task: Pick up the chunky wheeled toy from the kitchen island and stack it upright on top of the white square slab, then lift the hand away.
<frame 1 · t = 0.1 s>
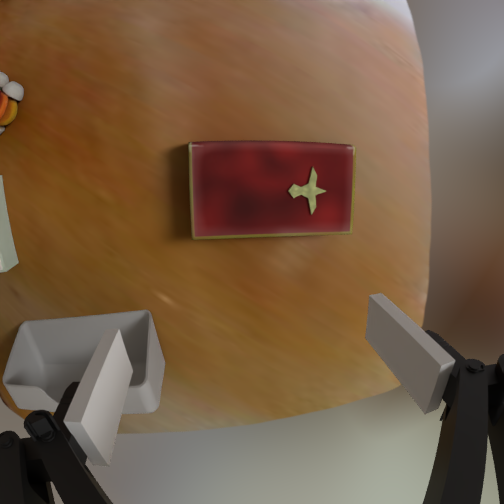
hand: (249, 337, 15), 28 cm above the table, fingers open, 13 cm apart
hardcover book: (270, 185, 42), on the table
chunky wheeled toy: (3, 104, 32), on the table
light grey storage bin: (95, 356, 46), on the table
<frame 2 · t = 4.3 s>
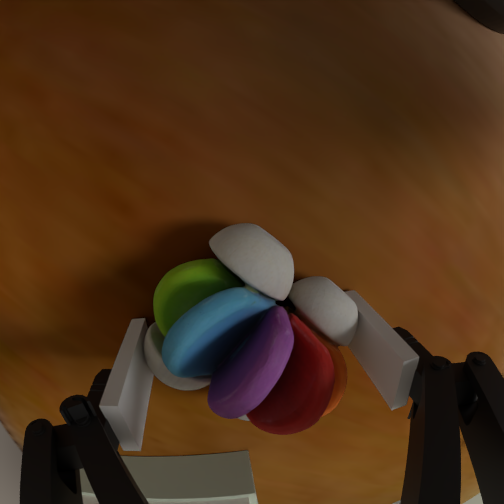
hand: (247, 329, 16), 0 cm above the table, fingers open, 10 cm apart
chunky wheeled toy: (245, 312, 17), on the table
white square slab: (178, 496, 21), on the table
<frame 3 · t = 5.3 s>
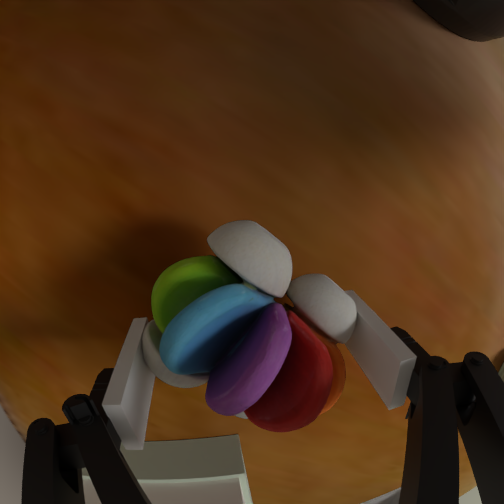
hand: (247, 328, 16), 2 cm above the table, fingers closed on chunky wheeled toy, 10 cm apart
chunky wheeled toy: (243, 309, 17), point 2 cm above the table, touching gripper
white square slab: (173, 482, 23), on the table
when the fingers open (10 cm above the table, at t = 9.5 s): chunky wheeled toy drops 1 cm, resting on white square slab.
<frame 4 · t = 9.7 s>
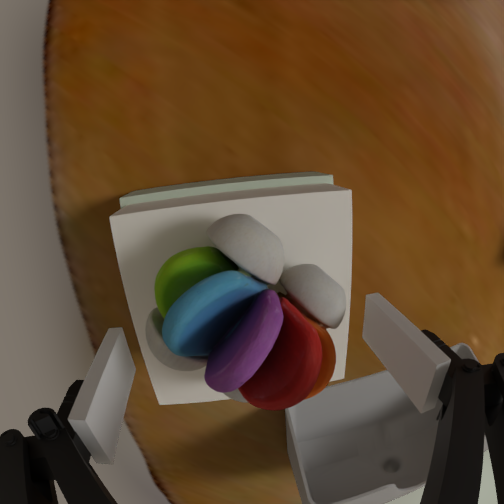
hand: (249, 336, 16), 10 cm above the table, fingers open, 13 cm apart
chunky wheeled toy: (240, 298, 18), point 8 cm above the table, touching white square slab
white square slab: (233, 266, 25), on the table
light grey storage bin: (378, 412, 34), on the table
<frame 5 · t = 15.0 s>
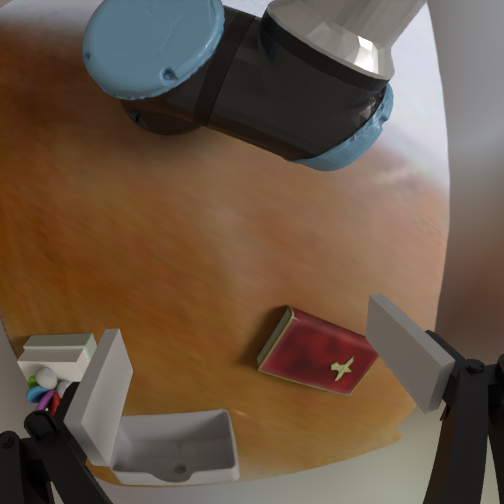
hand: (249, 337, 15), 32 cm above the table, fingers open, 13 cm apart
hardcover book: (318, 348, 56), on the table
chunky wheeled toy: (57, 385, 42), point 8 cm above the table, touching white square slab
white square slab: (72, 365, 50), on the table
light grey storage bin: (177, 436, 58), on the table
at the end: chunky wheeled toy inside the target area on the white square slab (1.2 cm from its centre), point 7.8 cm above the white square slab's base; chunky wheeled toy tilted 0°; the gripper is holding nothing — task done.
